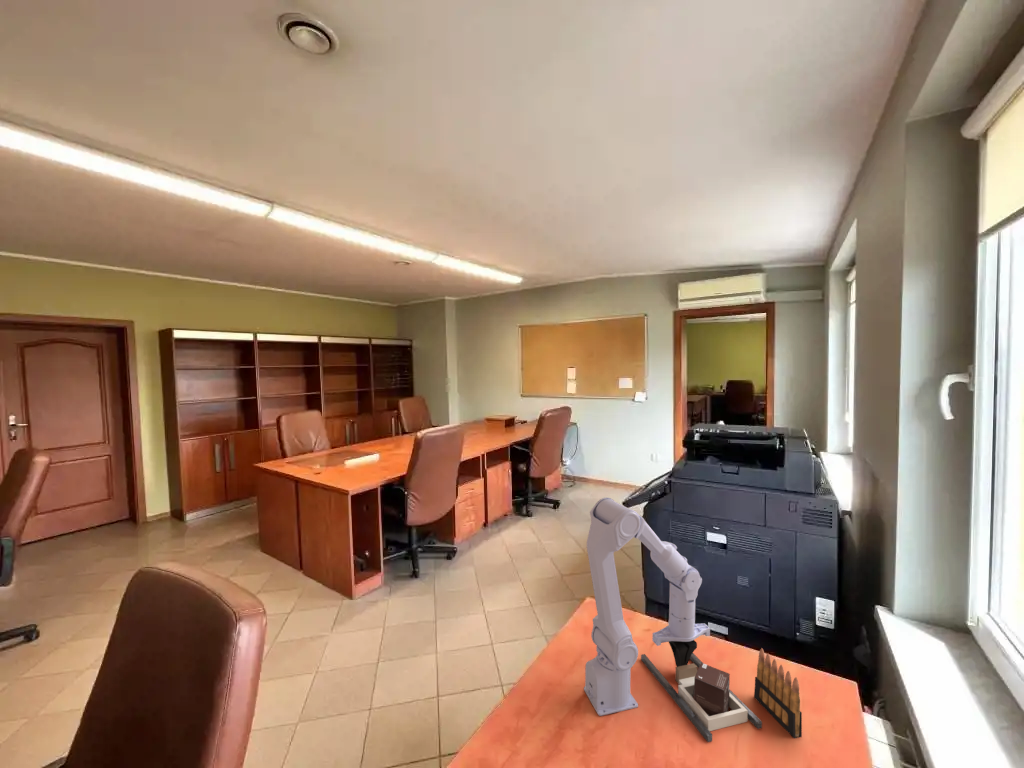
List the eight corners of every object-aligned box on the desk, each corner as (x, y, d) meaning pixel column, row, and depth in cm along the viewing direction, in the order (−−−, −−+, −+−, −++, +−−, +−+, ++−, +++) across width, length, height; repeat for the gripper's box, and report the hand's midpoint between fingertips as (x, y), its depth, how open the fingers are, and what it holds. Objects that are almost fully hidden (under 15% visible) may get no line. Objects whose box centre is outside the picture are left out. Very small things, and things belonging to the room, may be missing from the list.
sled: (708, 731, 86) (708, 716, 86) (666, 682, 99) (667, 668, 99) (747, 721, 88) (747, 706, 88) (701, 674, 102) (702, 661, 101)
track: (707, 743, 84) (707, 735, 83) (641, 660, 107) (641, 654, 107) (761, 728, 87) (762, 721, 87) (685, 651, 110) (685, 645, 110)
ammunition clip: (753, 697, 95) (755, 646, 94) (760, 696, 95) (762, 644, 95) (794, 739, 84) (796, 681, 84) (802, 737, 85) (804, 680, 84)
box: (723, 724, 87) (724, 690, 87) (693, 710, 91) (693, 677, 91) (729, 705, 92) (730, 673, 92) (700, 692, 96) (700, 661, 96)
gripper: (696, 599, 107) (695, 651, 107) (645, 607, 103) (644, 661, 104) (716, 615, 100) (715, 670, 101) (663, 625, 96) (661, 682, 97)
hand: (680, 667), depth 102 cm, fingers closed, pressing on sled
